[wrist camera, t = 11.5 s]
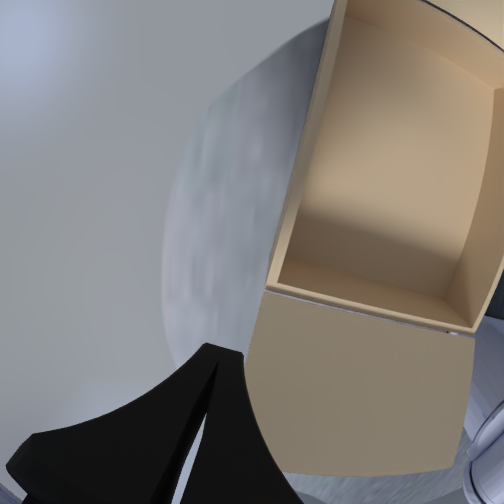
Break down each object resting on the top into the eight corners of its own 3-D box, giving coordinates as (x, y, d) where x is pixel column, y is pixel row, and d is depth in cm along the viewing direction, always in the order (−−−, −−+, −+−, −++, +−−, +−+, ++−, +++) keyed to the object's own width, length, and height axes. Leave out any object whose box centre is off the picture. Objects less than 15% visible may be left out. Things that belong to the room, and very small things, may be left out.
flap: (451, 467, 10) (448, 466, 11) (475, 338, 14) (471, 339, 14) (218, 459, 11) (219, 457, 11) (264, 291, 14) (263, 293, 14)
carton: (495, 88, 13) (533, 79, 8) (442, 303, 19) (473, 336, 14) (331, 9, 14) (343, -29, 9) (269, 258, 19) (264, 289, 14)
